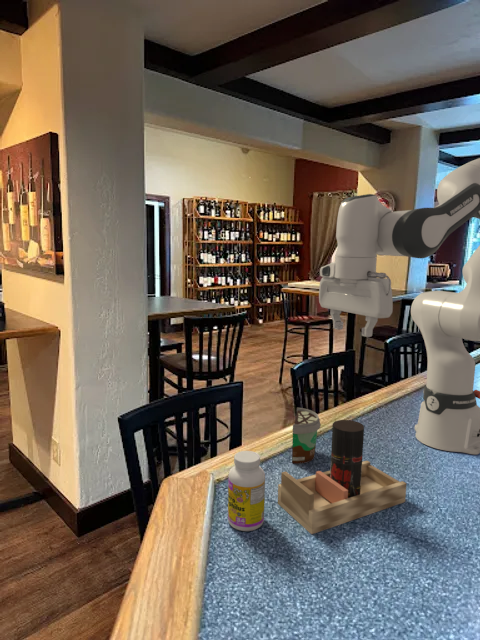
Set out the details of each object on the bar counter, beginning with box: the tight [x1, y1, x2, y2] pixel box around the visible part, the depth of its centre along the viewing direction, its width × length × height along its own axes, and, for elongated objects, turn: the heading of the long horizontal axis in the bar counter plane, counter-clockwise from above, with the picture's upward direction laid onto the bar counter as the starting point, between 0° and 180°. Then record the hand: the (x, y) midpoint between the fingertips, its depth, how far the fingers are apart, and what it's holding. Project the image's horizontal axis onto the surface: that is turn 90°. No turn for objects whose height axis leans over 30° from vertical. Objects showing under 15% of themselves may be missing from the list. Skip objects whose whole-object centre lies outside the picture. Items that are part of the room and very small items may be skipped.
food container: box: [291, 407, 322, 465], centre depth 110 cm, size 12×6×10 cm, turn 168°
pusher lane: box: [277, 460, 408, 535], centre depth 90 cm, size 23×11×7 cm, turn 118°
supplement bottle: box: [227, 450, 266, 532], centre depth 83 cm, size 7×7×13 cm
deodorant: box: [329, 419, 365, 498], centre depth 90 cm, size 6×6×15 cm
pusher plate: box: [315, 470, 348, 503], centre depth 89 cm, size 1×8×4 cm, turn 28°
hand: (351, 332), depth 103 cm, fingers open, 8 cm apart
